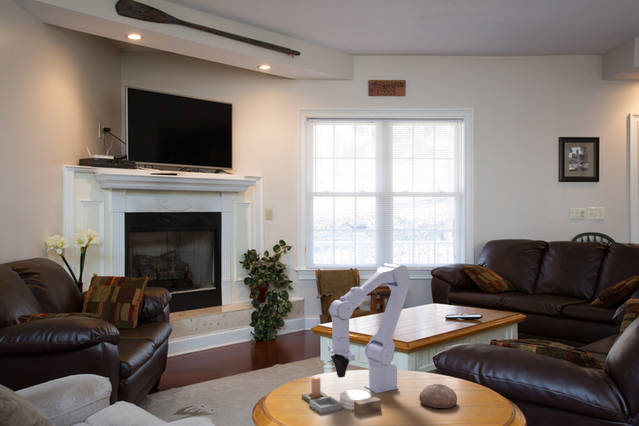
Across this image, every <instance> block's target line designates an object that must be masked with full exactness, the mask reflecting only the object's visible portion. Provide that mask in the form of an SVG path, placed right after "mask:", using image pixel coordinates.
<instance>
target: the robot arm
mask: <svg viewBox="0 0 639 426" xmlns="http://www.w3.org/2000/svg"><path fill="white" fill-rule="evenodd" d="M410 279H411V274H410V271H409V268H408V267H407V266H406V265H403V264H393V263H390V262H386V263H383V264H382V265H381V266H379V267H378V268H377V270H376V272H375V273H374V274H372V276H370V277H369V278H368V279H367V280H366V281H365V282H363V284H362V285H361V286H355V287H351V288H350V289H349V291H348V292H347V293H346V294H344V295H341V296H340V297H339V299H335V300H334V301H332V302H331V303H330V305H329V308H328V313H329V315H330V317H331V321H332V322H331V324H332V325H331V326H332V328H331V330H332V331H331V332H332V342H331V343H332V344H328V345H327V351H328V352H329V353H330V354H331V356H330V358H331V360H332V362H333V364H334V367H335V371H336V375H337V378H344V377H346V372H347V368H348V365H349V363H350V361H356V354H355V353H354V352H353V351H352V350H351V349H350V318H351V317H352V316H353V313H354V311H355V309H357V308H358V307H359V306H360V305H361V304H362V303H364V302H365V301H366V300H367V295H369V294H370V293H371V292H373V291H374V290H375V289H377V288H378V287H379V286H381V285H382V284H384V283H385V284H386V285H387V287H389V290H390V296H389V298H388V300H387V303H386V307H385V310H384V312H383V316H382V319H381V321H380V324H379V327H378V331H377V332H376V334H374V335H372V336H371V337H370V340H369V342H368V343H367V344H366V345H365V350H364V354H365V356H366V357H367V360H368V373H369V374H368V384H364V386H363V387H364V388H366V389H368V390H370V391H372V392H374V393H377V394H378V393H379V394H380V393H383V392H388V391H389V392H390V391H394V390H398V389H399V386H398V369H397V368H398V367H397V365H396V364H395V362H393V360H394V358H395V348H396V344H395V342H394V340H393V336H394V334H395V331H396V328H397V325H398V322H399V319H400V317H401V312H402V311H403V308H404V304H405V301H406V298H407V295H408V293H409V280H410ZM332 354H333V355H332Z"/></svg>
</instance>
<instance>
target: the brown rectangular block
mask: <svg viewBox="0 0 639 426" xmlns="http://www.w3.org/2000/svg"><path fill="white" fill-rule="evenodd" d="M381 411H382V399H380V397H379V398H378V397H377V396H374V397H371V398H368V399H363V400H358V401H354V410H353V412H354V413H355V414H356V415H357V416H363V415H368V414H373V413H377V412H381Z"/></svg>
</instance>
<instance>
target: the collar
mask: <svg viewBox="0 0 639 426" xmlns="http://www.w3.org/2000/svg"><path fill="white" fill-rule="evenodd" d="M325 397H330V396H329V395H327V394H326V393H324V392H323V391H321V397H320V398H325ZM301 399H302V400H305V402H307V403H308V404H310V400H314V399H313V398H311V392H308V393H304V394H303V393H302V394H301ZM315 399H319V398H315Z"/></svg>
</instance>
